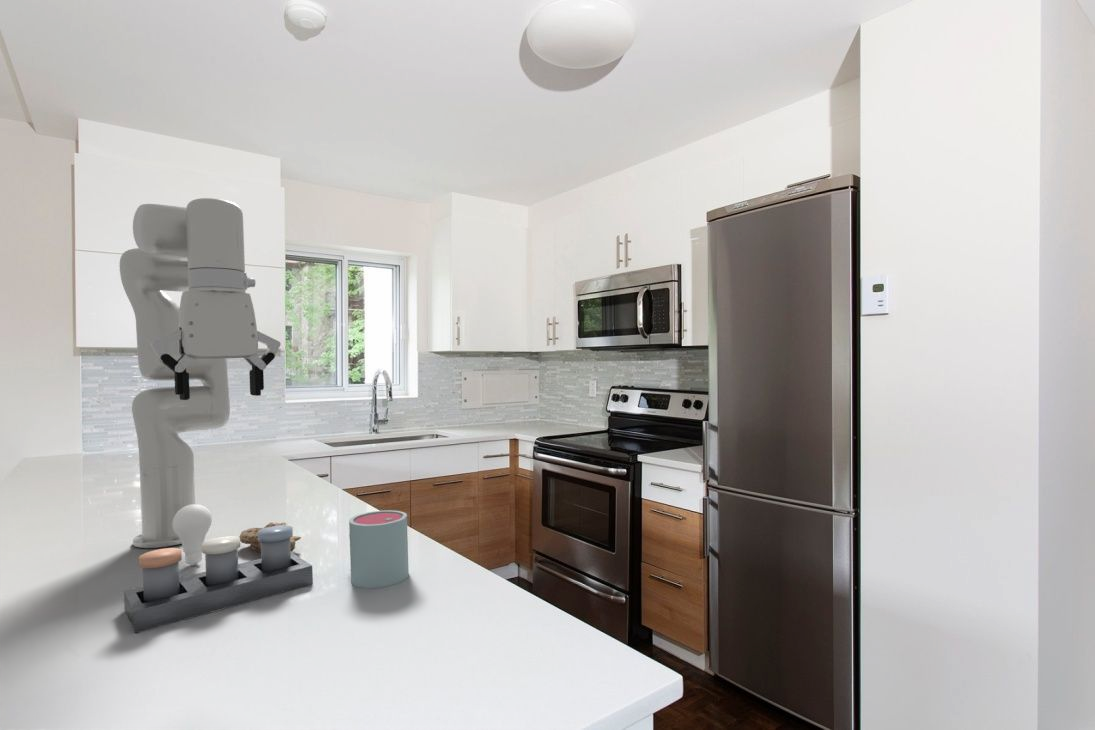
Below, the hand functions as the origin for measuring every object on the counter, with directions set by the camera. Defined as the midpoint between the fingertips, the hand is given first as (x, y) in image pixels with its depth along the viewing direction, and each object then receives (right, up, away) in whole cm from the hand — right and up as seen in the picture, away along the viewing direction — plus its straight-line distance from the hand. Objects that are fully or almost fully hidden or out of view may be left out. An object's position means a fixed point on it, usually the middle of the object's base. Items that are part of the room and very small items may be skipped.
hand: (221, 397), depth 89 cm
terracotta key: (-7, -29, -3) cm, 30 cm away
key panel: (-1, -31, +3) cm, 31 cm away
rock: (-3, -31, +25) cm, 41 cm away
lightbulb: (-15, -32, +17) cm, 39 cm away
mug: (+20, -31, +11) cm, 38 cm away
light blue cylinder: (+5, -28, +8) cm, 30 cm away
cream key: (-1, -29, +3) cm, 29 cm away
